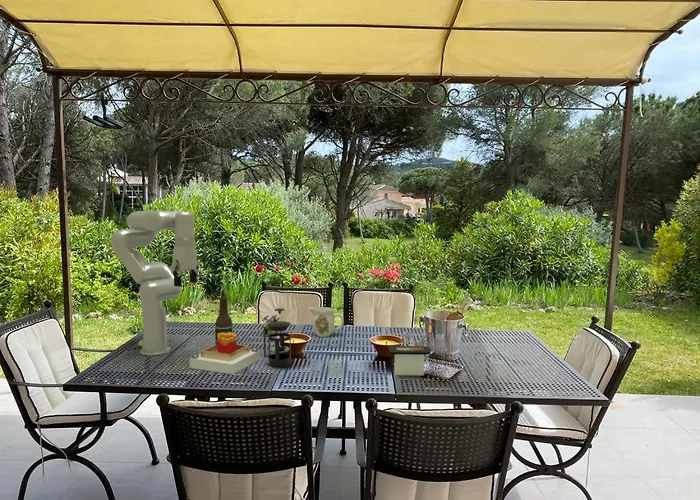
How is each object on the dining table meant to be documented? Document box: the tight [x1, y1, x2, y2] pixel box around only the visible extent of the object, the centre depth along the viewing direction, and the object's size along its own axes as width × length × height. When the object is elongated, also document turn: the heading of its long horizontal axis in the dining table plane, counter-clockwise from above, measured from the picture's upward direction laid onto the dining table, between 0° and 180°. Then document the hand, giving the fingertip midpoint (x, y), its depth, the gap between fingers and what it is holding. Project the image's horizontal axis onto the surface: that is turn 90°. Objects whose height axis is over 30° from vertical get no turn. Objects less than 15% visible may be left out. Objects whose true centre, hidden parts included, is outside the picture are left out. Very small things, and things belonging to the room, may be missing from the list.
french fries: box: [215, 331, 238, 354], centre depth 214 cm, size 8×4×12 cm, turn 75°
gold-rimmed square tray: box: [189, 343, 261, 375], centre depth 213 cm, size 20×20×6 cm
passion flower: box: [261, 313, 282, 335], centre depth 262 cm, size 11×11×12 cm
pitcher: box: [307, 306, 345, 338], centre depth 259 cm, size 11×18×14 cm, turn 88°
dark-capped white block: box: [387, 337, 432, 376], centre depth 203 cm, size 35×28×14 cm
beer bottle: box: [214, 296, 233, 345], centre depth 232 cm, size 8×8×24 cm
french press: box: [263, 308, 292, 369], centre depth 213 cm, size 12×9×23 cm
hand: (185, 284), depth 213 cm, fingers open, 9 cm apart
